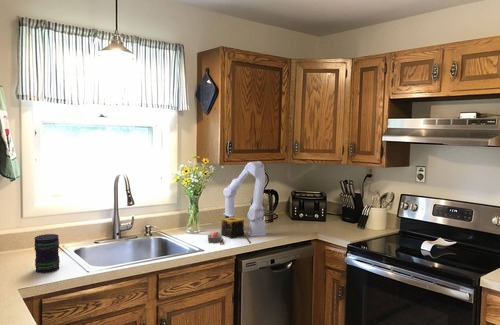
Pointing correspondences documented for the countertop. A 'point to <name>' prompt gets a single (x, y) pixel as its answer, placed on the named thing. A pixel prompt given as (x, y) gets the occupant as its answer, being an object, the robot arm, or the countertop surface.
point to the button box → (214, 239)
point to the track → (223, 242)
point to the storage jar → (47, 253)
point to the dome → (214, 234)
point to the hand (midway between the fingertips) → (229, 227)
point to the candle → (232, 227)
